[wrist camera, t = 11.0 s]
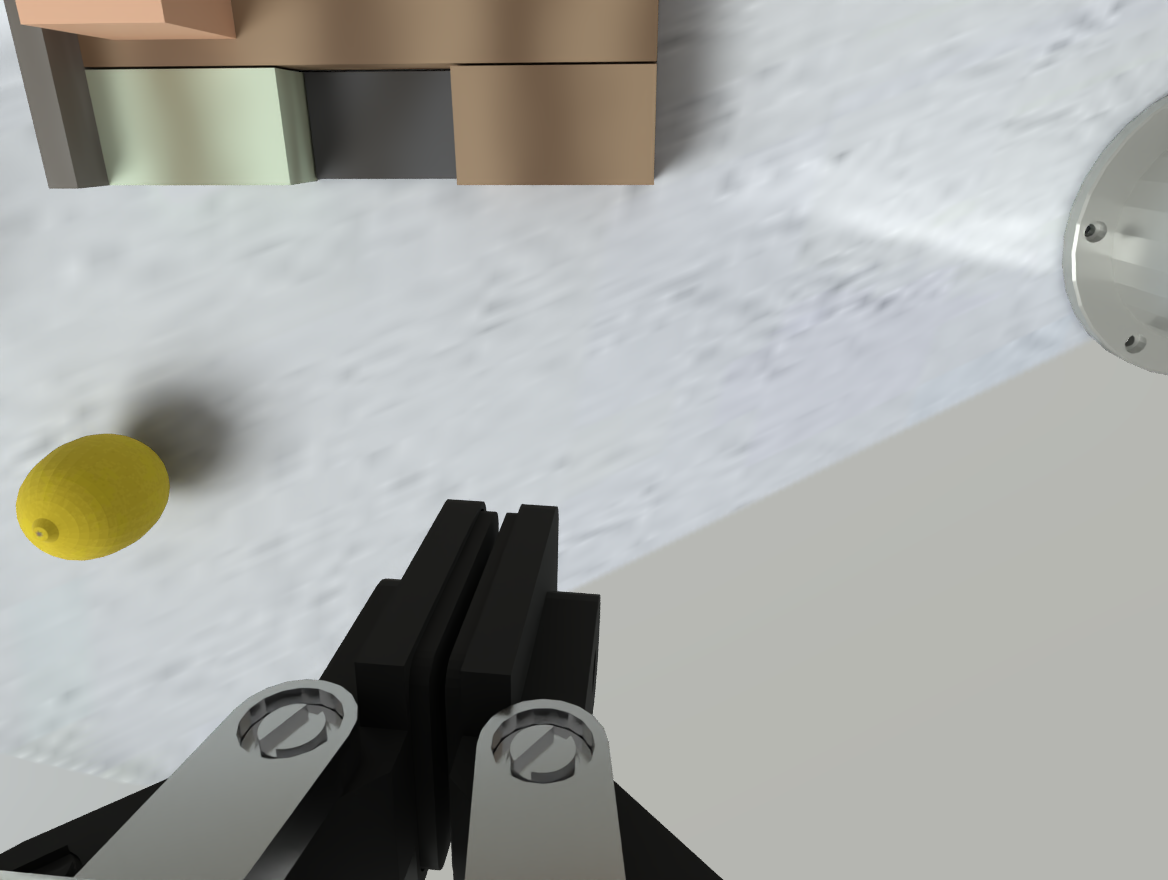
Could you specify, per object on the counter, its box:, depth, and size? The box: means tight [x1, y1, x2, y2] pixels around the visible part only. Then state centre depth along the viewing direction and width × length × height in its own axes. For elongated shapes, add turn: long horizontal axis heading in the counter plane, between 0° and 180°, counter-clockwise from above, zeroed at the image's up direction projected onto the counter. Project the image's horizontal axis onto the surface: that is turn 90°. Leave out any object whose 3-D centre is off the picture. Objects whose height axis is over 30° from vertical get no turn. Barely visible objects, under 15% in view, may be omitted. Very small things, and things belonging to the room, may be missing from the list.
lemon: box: [16, 434, 170, 560], centre depth 38 cm, size 6×6×8 cm
